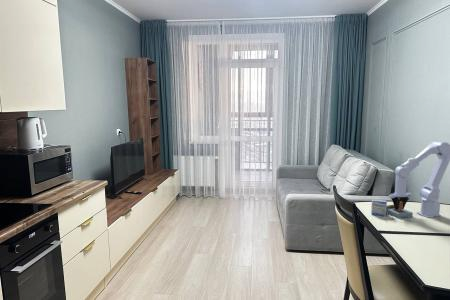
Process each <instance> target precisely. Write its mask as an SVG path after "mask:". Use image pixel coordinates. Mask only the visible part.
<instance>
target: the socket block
mask: <svg viewBox="0 0 450 300" xmlns="http://www.w3.org/2000/svg"><path fill="white" fill-rule="evenodd" d="M387 213H388V214H387ZM413 213H414V212H412V211H410V210H407V209H405V208H404V209H402V212H396V209H395V208H388V209H386V214H387V215H389V214H390V216H392V217H394V218H397V219H403V218H412V217H413Z"/></svg>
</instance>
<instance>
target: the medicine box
mask: <svg viewBox="0 0 450 300" xmlns="http://www.w3.org/2000/svg"><path fill="white" fill-rule="evenodd" d="M387 205H388V203H387V200H383V199H374V198H372V199H371V209H370V210H371V211H370V213H371V215H372V216H379V215H380V216H381V217H382V216H383V217H386V216H387V213H386V207H387ZM380 216H379V217H380Z"/></svg>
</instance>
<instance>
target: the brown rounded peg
mask: <svg viewBox="0 0 450 300" xmlns="http://www.w3.org/2000/svg"><path fill="white" fill-rule="evenodd" d="M402 209H403V202H401V201H400V203H399V208H398V210H396V212H402Z"/></svg>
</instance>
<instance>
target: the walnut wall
mask: <svg viewBox="0 0 450 300" xmlns="http://www.w3.org/2000/svg"><path fill="white" fill-rule="evenodd" d="M388 208H394V204H387V207H386V209H388Z"/></svg>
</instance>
